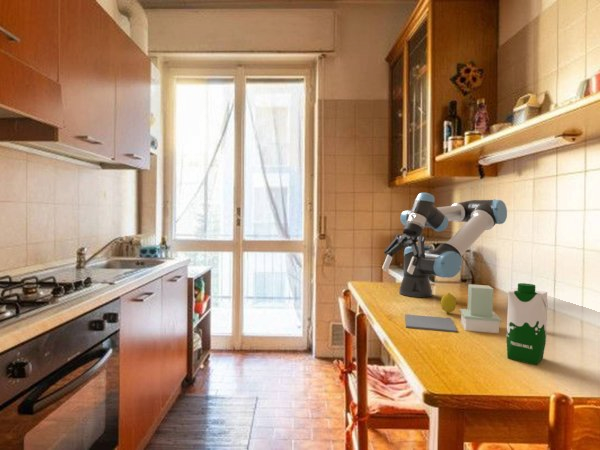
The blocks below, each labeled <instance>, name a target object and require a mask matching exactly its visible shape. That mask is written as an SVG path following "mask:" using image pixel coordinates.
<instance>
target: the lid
mask: <svg viewBox="0 0 600 450" xmlns="http://www.w3.org/2000/svg"><path fill="white" fill-rule="evenodd" d="M493 307H494V288H493V287H492V286H490V285H486V284H485V285H483V284H470V283H469V284H468V287H467V308H459V312H460V315H461V314H462V315H463V317H464V318H465V319H474V320H487V321H499V323H502V318H501V317H500V316H499V315H498V314H497V313H496V312H495V311H494V310H493V309H494V308H493Z"/></svg>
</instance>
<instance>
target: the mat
mask: <svg viewBox="0 0 600 450" xmlns="http://www.w3.org/2000/svg"><path fill="white" fill-rule="evenodd" d="M404 316H405V317H404V318H405V328H408V329H416V330H417V329H418V330H419V329H420V330H428V331H429V330H430V331H439V332H440V331H441V332H448V333H449V332H452V333H458V329H457V327H456V325H455V324H454V322H453V319H452V317H445V316H444V317H441V316H429V315H428V316H427V315H418V314H417V315H416V314H406V313H405V314H404Z"/></svg>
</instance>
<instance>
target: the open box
mask: <svg viewBox="0 0 600 450" xmlns="http://www.w3.org/2000/svg"><path fill="white" fill-rule="evenodd" d="M460 324H461V326H462V327H463V328H464V331H466V332H467V331H469V332H477V333H478V332H479V333H490V334H500V322H499V321H487V320H474V319H465V318H464V317H463V315H462V314H461V313H460Z"/></svg>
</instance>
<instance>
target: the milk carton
mask: <svg viewBox="0 0 600 450" xmlns="http://www.w3.org/2000/svg"><path fill="white" fill-rule="evenodd" d="M507 300H508V301H507V316H506V317H507V318H506V321H507V322H506V355H507V356H506V357H507V359H510V360H512V361H513V360H514V361H517V362H518V361H519V362H522V363H526V364H530V365H535V366H538V365H539V363H540V362H541V361H542V360H543V359H544V355H545V354H544V353H545V349H546V342H547V325H548V323H547V322H548V291H542V290H536V285H535V284H532V283H525V282H523V283H522V282H521V283H518V284H517V287H516V288H512V289H510V290H508V296H507Z"/></svg>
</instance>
